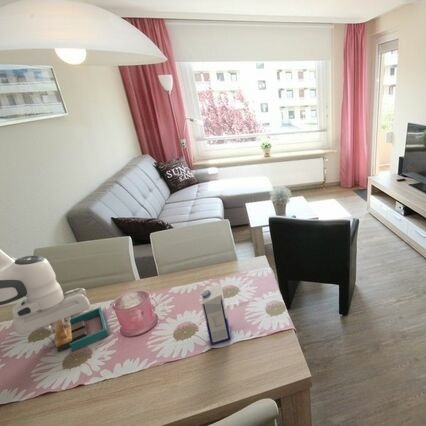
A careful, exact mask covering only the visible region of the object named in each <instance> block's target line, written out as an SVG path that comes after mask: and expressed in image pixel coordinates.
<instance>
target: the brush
mask: <svg viewBox="0 0 426 426" xmlns="http://www.w3.org/2000/svg"><path fill="white" fill-rule="evenodd" d="M64 322H66V320H64V319H62V320H59V321H56V322H54V326H55V333H54V345H55V348H56V350H57V352H60V351H64V350H66V349H68V348H71V347H70V343H72V342H73V340H72V331H71V323H70V327H68V328H65V326H64Z"/></svg>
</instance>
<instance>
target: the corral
mask: <svg viewBox="0 0 426 426" xmlns="http://www.w3.org/2000/svg"><path fill="white" fill-rule="evenodd" d="M96 317H100V321H101V325H102V329H101V330H100V329H99V330H97V331H96V332H94V333H91V334H89V335H87V336H86V337H84V338H81V339H79V340H77V341H74V342H72V343H70V347H69V348H70V349H71V351H72V352H74V351H77V350H79V349H81V348H83V347H86V346H87V345H90V344H92V343H95V342H97V341H99V340H101V339H104V338H106V337H108V336H109V332H108V331H109V330H108V328H107V324H106V320H105V315H104V311H103V309H102V307H101V306H99V307H97V308H94V309H92V310H88V311H87V312H84V313H81V314H79V315H78V314H77V315H75V316H73V317H71V320H70V323H71V325H73V324H75V323H78V322H80V321H83V320H84V322H86V321H88V320H90V319H93V318H96Z"/></svg>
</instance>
